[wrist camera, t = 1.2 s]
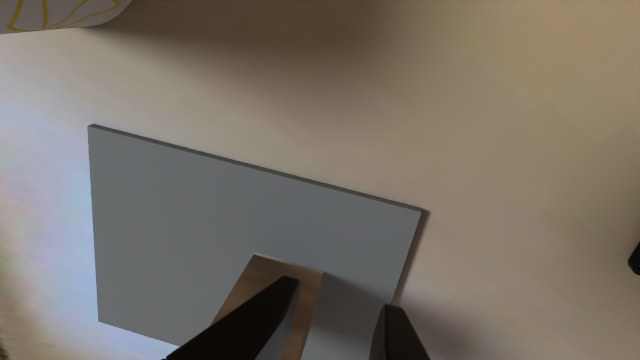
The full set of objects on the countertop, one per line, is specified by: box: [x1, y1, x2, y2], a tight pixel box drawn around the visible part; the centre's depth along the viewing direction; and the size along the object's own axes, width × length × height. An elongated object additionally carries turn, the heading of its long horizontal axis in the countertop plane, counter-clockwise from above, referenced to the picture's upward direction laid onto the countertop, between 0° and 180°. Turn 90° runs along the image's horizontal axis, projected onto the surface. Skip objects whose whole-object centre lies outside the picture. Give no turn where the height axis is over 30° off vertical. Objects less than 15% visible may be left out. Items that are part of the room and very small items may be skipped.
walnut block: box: [210, 252, 324, 360], centre depth 20 cm, size 4×4×9 cm
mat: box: [88, 124, 422, 360], centre depth 24 cm, size 18×14×1 cm
